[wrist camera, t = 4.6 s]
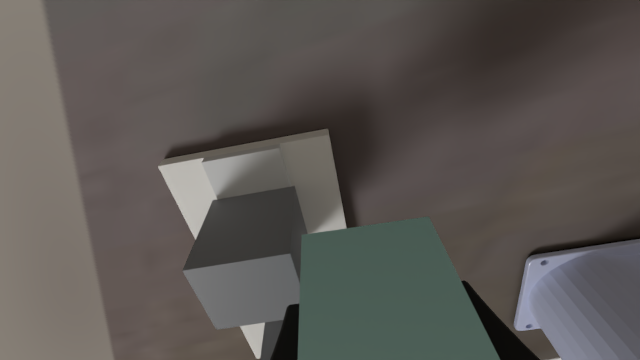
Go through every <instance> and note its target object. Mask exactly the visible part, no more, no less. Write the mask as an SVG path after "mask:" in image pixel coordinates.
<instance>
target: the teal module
mask: <svg viewBox="0 0 640 360" xmlns="http://www.w3.org/2000/svg"><path fill="white" fill-rule="evenodd" d="M298 360H500V358H499V356H498V354H497V352H496V350H495V348H494V346H493V344H492V342H491V340H490V338H489V336H488V334H487V332H486V330H485V328H484V326H483V324H482V322H481V320H480V318H479V316H478V314H477V312H476V310H475V308H474V306H473V304H472V302H471V300H470V298H469V296H468V294H467V292H466V290H465V288H464V286H463V284H462V282H461V280H460V278H459V276H458V274H457V272H456V270H455V268H454V266H453V264H452V262H451V260H450V258H449V256H448V254H447V252H446V250H445V248H444V246H443V244H442V242H441V240H440V238H439V236H438V234H437V232H436V230H435V228H434V226H433V224H432V222H431V220H430V218H429V217H422V218H415V219H408V220H401V221H395V222H388V223H381V224H374V225H367V226H360V227H353V228H346V229H339V230H332V231H325V232H318V233H311V234H304V235H302V241H301V271H300V301H299V332H298Z"/></svg>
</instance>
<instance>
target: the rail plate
mask: <svg viewBox="0 0 640 360" xmlns="http://www.w3.org/2000/svg"><path fill="white" fill-rule="evenodd" d="M158 167H159V169H160V171H161V173H162V175H163V177H164V179H165V181H166V183H167V185H168V187H169V189H170V191H171V193H172V195H173V197H174V199H175V201H176V202H177V204H178V206H179V208H180V210H181V212H182V214H183V216H184V218H185V220H186V222H187V224H188V226H189V228H190V230H191V232H192V234H193V236H194V238H195V243H194V245H193V247H192V250H191V252H190V254H189V257H188V259H187V261H186V264H185V266H184V268H183V273H184V274H185V276H186V278H187V280H188V281H189V283H190V285H191V286H192V288H193V290H194V292H195V293H196V295H197V297H198V299H199V300H200V302H201V304H202V305H203V307H204V309H205V311H206V312H207V314H208V316H209V318H210V319H211V321H212V323H213V324H214V326H215V328H216V330H217V329H224V328H231V327H238V326H240V327H241V329H242V331H243V333H244V335H245V337H246V339H247V341H248V343H249V345H250V347H251V349H252V351H253V353H254V355H255V356H256V358H257V359H258V358H260V360H270V358H271V356H272V353H273V351H274V348H275V345H276V342H277V339H278V336H279V333H280V330H281V327H282V323H283V320H284V316H285V312H286V309H287V307H288V306H289V305H292V304H299V301H300V271H301V241H302V235H304V234H311V233H318V232H325V231H332V230H339V229H346V228H347V227H346V221H345V216H344V211H343V205H342V200H341V195H340V190H339V184H338V179H337V174H336V168H335V163H334V158H333V152H332V147H331V142H330V136H329V131H328V129H322V130H317V131H312V132H306V133H301V134H296V135H290V136H285V137H279V138H274V139H269V140H263V141H258V142H253V143H247V144H242V145H237V146H231V147H226V148H220V149H215V150H210V151H204V152H199V153H194V154H188V155H183V156H178V157H172V158H167V159H163V161H162V162H161V163H160V164H159V166H158Z"/></svg>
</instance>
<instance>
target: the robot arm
mask: <svg viewBox="0 0 640 360" xmlns="http://www.w3.org/2000/svg"><path fill="white" fill-rule="evenodd" d="M461 282H462V284H463V286H464V288H465V290H466V292H467V294H468V296H469V298H470V300H471V302H472V304H473V306H474V308H475V310H476V312H477V314H478V316H479V318H480V320H481V322H482V324H483V326H484V328H485V330H486V332H487V334H488V336H489V338H490V340H491V342H492V344H493V346H494V348H495V350H496V352H497V354H498V356H499V358H500V360H540V359H539V358H538V357H537V356H536V355H535V354H534V353H533V352H531V351H530V350H529V349H528V348H527V347H526V346H525V345H524V344H523V343H522V342H521V341H520V340H519V339H518V337H517V336H516V335H515V334H514V333H513V332H512V331H511V330H510V329H509V328H508V327H507V326H506V325H505V324H504V323H503V322H502V321H501V320H500V319H499V318H498V317H497V316H496V314H495V313H494V312H493V311H492V310H491V309H490V308H489V307H488V306H487V305H486V303H485V302H484V301H483V300H482V299H481V298H480V297H479V295H478V294H477V293H476V292H475V291H474V290H473V288H472V287H471V286H470V285H469V283H468V282H466V281H461ZM514 327H515V328H516V330H519V331H524V330H532V329H539V328H541V329H542V330H543V332H544V333H545V335H546V336H547V338H548V339H549V341H550V342H551V344H552V345H553V347H554V348H555V350H556V351H557V353H558V354H559V356H560V357H561V359H562V360H640V239H635V240H629V241H622V242H616V243H609V244H602V245H596V246H589V247H583V248H576V249H569V250H563V251H556V252H549V253H543V254H536V255H532V256H530V257H529V258H528V259H527V261H526V265H525V270H524V275H523V280H522V285H521V290H520V295H519V300H518V305H517V310H516V315H515V320H514ZM298 332H299V304H292V305H289V306H288V307H287V309H286V312H285V316H284V320H283V323H282V327H281V330H280V333H279V336H278V339H277V342H276V345H275V348H274V351H273V353H272V356H271V358H270V360H298Z"/></svg>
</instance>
